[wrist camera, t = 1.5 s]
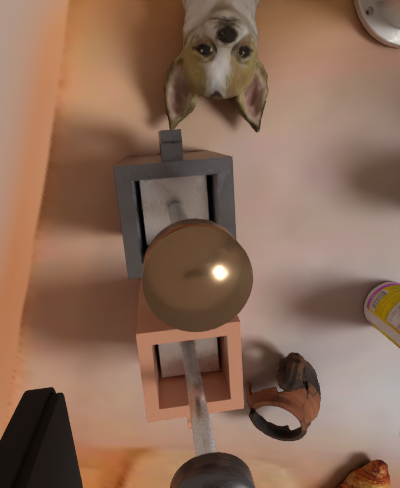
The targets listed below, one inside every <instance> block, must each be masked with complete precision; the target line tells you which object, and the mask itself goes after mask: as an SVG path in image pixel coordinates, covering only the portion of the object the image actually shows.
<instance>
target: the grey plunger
mask: <svg viewBox="0 0 400 488" xmlns="http://www.w3.org/2000/svg"><path fill="white" fill-rule="evenodd" d="M158 346H159V354H160V363H161V372H162V378H164V377H172V376H179V375H185V379H186V387H187V394H188V402H189V409H190V417H191V424H192V431H193V439H194V446H195V454H196V457H194V458H192V459H190V460H189V461H187V462H186V463H184V464H183V465H182V466H181V467H180V468H179V469H178V470H177V472H176V473H175V475H174V476H173V479H172V481H171V485H170V488H255V485H254V482H253V478H252V475H251V472H250V470H249V468H248V466H247V465H246V464H245V463H244V462H243V461H242V460H241V459H239V458H238V457H236V456H234V455H231V454H227V453H221V452H216V447H215V442H214V437H213V432H212V427H211V422H210V417H209V412H208V407H207V402H206V397H205V392H204V387H203V382H202V377H201V372H209V371H216V370H219V362H218V347H217V337H211V338H203V339H196V340H188V341H180V342H172V343H164V344H158Z"/></svg>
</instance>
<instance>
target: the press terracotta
mask: <svg viewBox="0 0 400 488" xmlns="http://www.w3.org/2000/svg"><path fill="white" fill-rule="evenodd" d="M142 279H143V278H141V280H140V291H139V303H138V314H137V326H136V340H137V347H138V355H139V363H140V370H141V378H142V385H143V393H144V400H145V408H146V415H147V422H153V421H160V420H167V419H174V418H181V417H187V419H188V427H189V429H192V424H191V417H190V409H189V402H188V394H187V387H186V379H185V375H179V376H172V377H164V378H162V372H161V363H160V354H159V346H158V344H164V343H172V342H180V341H188V340H196V339H203V338H211V337H217V347H218V362H219V370H216V371H209V372H201V377H202V382H203V387H204V392H205V397H206V402H207V407H208V412H209V413H216V412H223V411H230V410H236V409H243V408H244V394H243V373H242V351H241V330H240V320H239V318H238V316H237V315H236V316H235V317H234V318H233V319H232V320H230V321H229V322H228V323H226V324H224V325H223V326H220V327H218V328H216V329H213V330H209V331H204V332H187V331H181V330H178V329H175V328H173V327H170V326H168V325H167V324H165V323H164V322H162V321H161V320H160V319H159V318H157V317H156V315H155V314H154V313H153V312H152V311H151V309H150V308H149V306H148V304H147V302H146V299H145V297H144V293H143V285H142Z"/></svg>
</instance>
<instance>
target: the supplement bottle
mask: <svg viewBox="0 0 400 488" xmlns="http://www.w3.org/2000/svg"><path fill="white" fill-rule="evenodd" d="M364 313H365V316H366V318H367V320H368V321H369V323H370V324H372V325H373V326H374V327H375V328H376V329H377V330H379V331H380V332H381V333H382V334H383V335H385V336H386V337H387V338H388V339H389V340H390V341H392V342H393V343H394V344H395V345H396V346H398V347H399V348H400V283H397V282H386V283H383V284H380V285H378V286H377V287H375V288H374V289H373V290H372V291H371V292H370V293H369V294H368V296H367V298H366V300H365V304H364Z"/></svg>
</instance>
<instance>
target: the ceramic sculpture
mask: <svg viewBox="0 0 400 488" xmlns="http://www.w3.org/2000/svg"><path fill="white" fill-rule="evenodd" d="M181 1H182V4H183V8H184V10H185V20H184V27H183V29H182V30H183V49H182V53H181V54H180V55H179V56H178V57H177V58H176V59H175V60H174V61H173V62H172V64H171V66H170V67H169V69H168V71H167V78H166V84H165V87H164V91H165V102H166V111H167V115H168V119H169V127H170V130H174V129H175V128H176V126H177V125H178V123H179V122H180V121H182V120H183V119H184V118H185V117H186V116H188V115H189V114H190V113H191V112H192V111H193V110H194V108H195V105H196V102H197V99H198V95H200V94H201V95H203V96H206V97H208V98H211V99H216V100H219V99H226V98H231V97H234V96H235V108H236V110H237V112H238V113H239V114H240V115H241V116H242V117H243V118H244V119H245V120H246V121H247V122H248V123H249V124H250V125H251V126H252V128H253V129H254V130H255V131H256V132H259V130H260V124H261V118H262V114H263V110H264V107H265V103H266V98H267V94H268V86H267V76H268V75H267V73H266V71H265V69H264V67H263V65H262V63H261V62H260V61H259V60H258V58H257V44H258V29H257V26H256V20H255V15H256V10H257V7H258V5H259V2H260V0H181Z"/></svg>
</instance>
